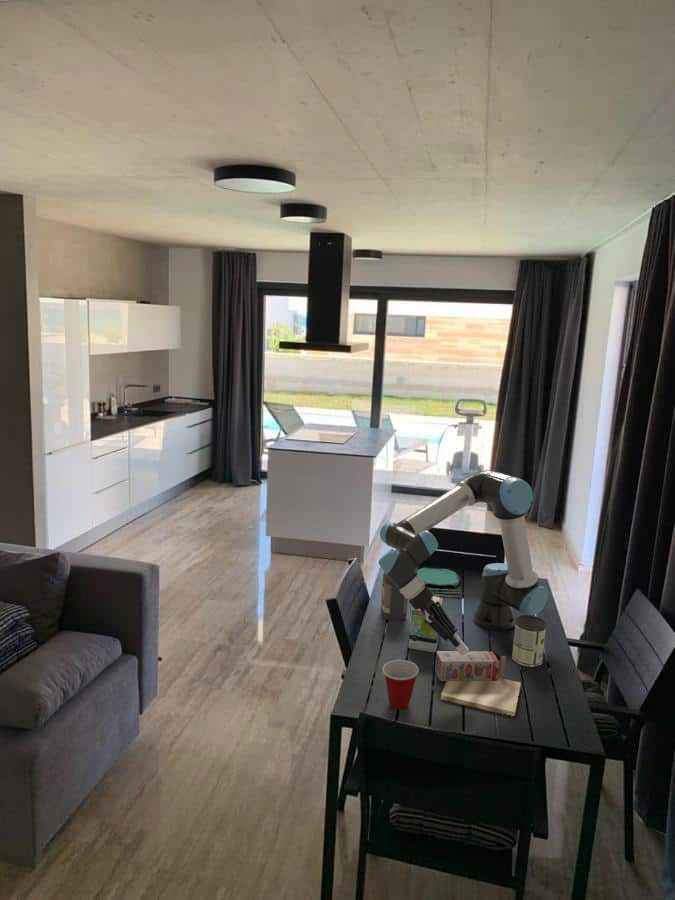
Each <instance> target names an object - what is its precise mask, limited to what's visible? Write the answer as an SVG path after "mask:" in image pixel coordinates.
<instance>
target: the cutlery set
mask: <svg viewBox="0 0 675 900" xmlns="http://www.w3.org/2000/svg"><path fill="white" fill-rule="evenodd" d="M415 572H416V574H417V575H418V576H419V577H420V578H421V580H422V581H423V582H424V583H425V585H424V586H426V585H429V586H433V587H448V586H449V587H450V586H453V588H457V586H459V584H460V581H461V577H460V575H458V574H457V573H456V572H455V571H453V570H450V569H447V568H439V567H438V568H437V567H422V568H420V569H418V570H416V571H415ZM428 588H429V587H428ZM429 590H430V591H435V592H434V593H436V592H438V593H436V594H433V597H439V598H449V597H451V599H455V598H456V599H462V595H461V592H460V590H459V589H458V590H456V589H455V590H453V589H448V588H442V589H441V588H429ZM439 590H442V591H441V592H440V591H439ZM439 593H444V594H446V595H444V594H439ZM447 594H452V595H447Z"/></svg>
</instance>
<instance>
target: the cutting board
mask: <svg viewBox="0 0 675 900" xmlns="http://www.w3.org/2000/svg"><path fill="white" fill-rule="evenodd" d="M521 685H522V682H520V681H515V680H510V679H506V678H503V677H499V678H498V680H497V681H445V684H444V687H443V689H442V691H441V694H440V700H444V701H447V702H451V703H455V704H459V705H463V706H467V707H471V708H475V709H476V708H477V709H480V710H484V711H488V712H492V713H497V714H500V713H501V715H504V714H507V715H506V716H508V715H511V716H510V717H513V716H516V712H517V706H518V702H519V697H518V696H520V691H521Z"/></svg>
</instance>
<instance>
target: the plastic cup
mask: <svg viewBox="0 0 675 900" xmlns="http://www.w3.org/2000/svg"><path fill="white" fill-rule="evenodd" d="M419 670H420V669H419V667H418V665H417V664H416V663H414V662H412V661H410V660H404V659H395V660H391V661H390V660H389V661H388V662H386V663H385V664H384V665H383V666H382V672H383V675H384V678H385V683H386V689H387V690H386V692H387V695H388V696H387V697H388V704H389V706H390V708H392V709H394V710H397V711H403V710H404V711H405V710H406V709H408V708H409V705H410V702H411V698H412V695H413V691H414V687H415V684H416V683H415V682H416V679H417V676H418V674H419V673H420V671H419Z"/></svg>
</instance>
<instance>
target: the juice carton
mask: <svg viewBox="0 0 675 900" xmlns="http://www.w3.org/2000/svg"><path fill="white" fill-rule="evenodd" d="M435 653H436V656H435V665H434V666H435V667H434V671H435V673H436V676H437V678H438V680H439V681H440V682H446V681H497V680H498V678H500V676H501V677H502V676H505V670H506V669H505V667H506V660H507V656H506V655H504V656H503V655H502V656H501V655H500V654H498V653H496V652H494V651H486V650H485V651H477V650H476V651H472V650H471V651H468V652H467V653H465V654H464V655H462V656H461V654H460V653H459V652H458V651H457V650H453V651H452V650H451V651H449V650H448V651H447V650H446V651H445V650H444V651H439V650H436V652H435Z"/></svg>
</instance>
